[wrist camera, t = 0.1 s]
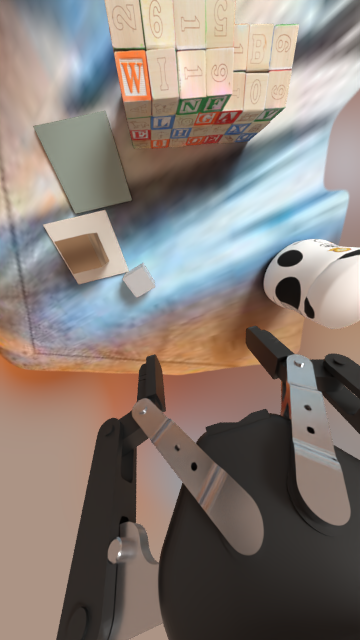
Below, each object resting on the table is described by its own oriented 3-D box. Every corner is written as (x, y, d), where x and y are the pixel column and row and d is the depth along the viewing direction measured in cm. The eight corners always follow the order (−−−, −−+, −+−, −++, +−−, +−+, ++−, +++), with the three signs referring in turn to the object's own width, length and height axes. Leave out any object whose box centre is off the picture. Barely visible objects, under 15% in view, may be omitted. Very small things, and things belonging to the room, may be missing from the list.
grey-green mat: (35, 128, 23) (33, 126, 23) (106, 113, 24) (105, 110, 23) (76, 213, 29) (75, 213, 29) (132, 200, 30) (131, 199, 29)
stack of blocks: (253, 86, 25) (327, -13, 15) (248, 142, 28) (305, 93, 18) (121, 91, 23) (99, -20, 13) (132, 150, 26) (122, 100, 16)
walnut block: (69, 239, 31) (53, 241, 26) (96, 232, 31) (86, 233, 26) (84, 267, 34) (73, 274, 29) (109, 260, 34) (102, 266, 29)
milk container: (324, 232, 40) (433, 235, 24) (305, 293, 49) (376, 323, 34) (262, 245, 39) (334, 257, 23) (254, 305, 48) (303, 341, 33)
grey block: (125, 273, 36) (122, 279, 32) (143, 262, 36) (142, 267, 32) (137, 290, 39) (136, 297, 35) (154, 280, 39) (155, 287, 34)
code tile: (44, 224, 29) (42, 224, 29) (105, 210, 30) (104, 209, 29) (79, 283, 36) (78, 284, 35) (129, 270, 36) (128, 271, 36)
